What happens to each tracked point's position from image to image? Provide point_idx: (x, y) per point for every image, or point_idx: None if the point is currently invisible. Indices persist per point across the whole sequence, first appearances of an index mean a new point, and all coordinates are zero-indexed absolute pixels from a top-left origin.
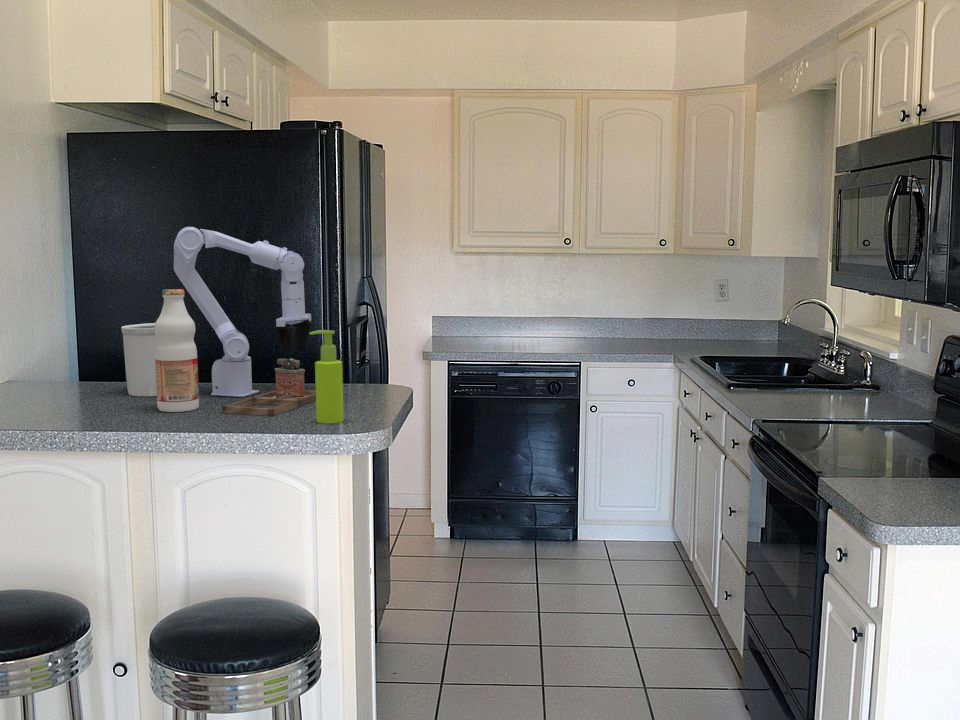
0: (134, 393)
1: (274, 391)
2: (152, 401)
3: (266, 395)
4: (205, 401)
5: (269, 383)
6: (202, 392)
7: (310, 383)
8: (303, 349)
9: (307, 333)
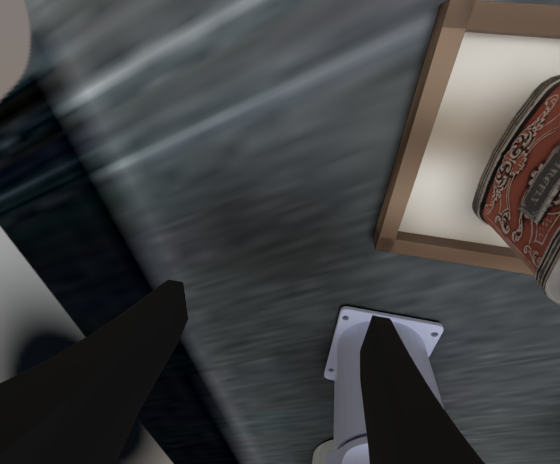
0: None
1: (445, 249)
2: (489, 459)
3: (515, 254)
4: (504, 383)
5: None
6: None
7: (129, 216)
8: (182, 297)
9: (91, 380)
